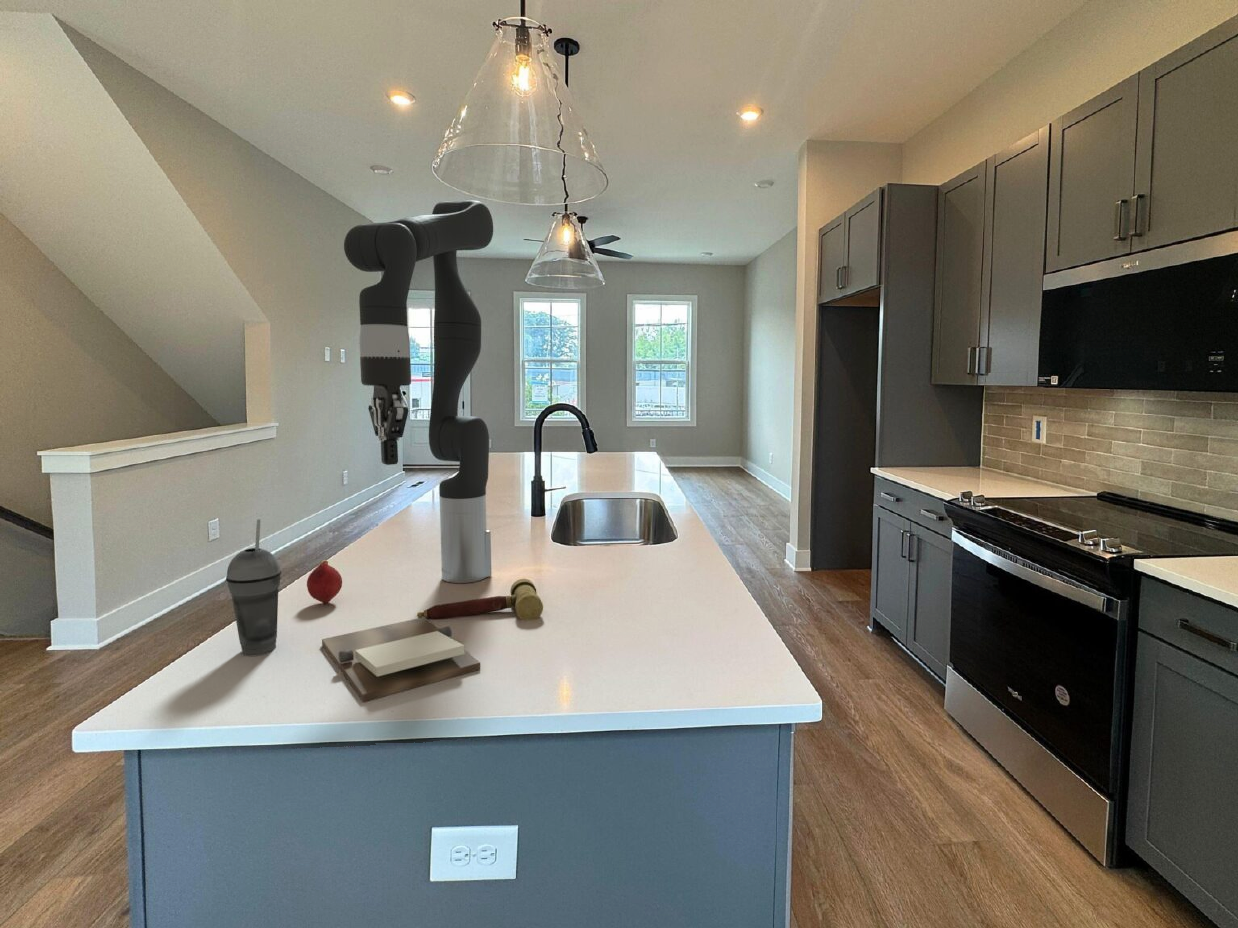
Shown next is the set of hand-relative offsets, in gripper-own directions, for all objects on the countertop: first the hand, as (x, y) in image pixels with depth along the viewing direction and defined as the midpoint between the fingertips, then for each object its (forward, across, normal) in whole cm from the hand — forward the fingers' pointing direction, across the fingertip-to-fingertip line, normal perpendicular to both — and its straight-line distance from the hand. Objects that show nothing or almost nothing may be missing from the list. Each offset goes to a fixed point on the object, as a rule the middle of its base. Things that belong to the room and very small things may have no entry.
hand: (389, 463), depth 105 cm
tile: (+24, -18, +4) cm, 30 cm away
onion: (+27, +18, +7) cm, 33 cm away
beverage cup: (+27, +2, +20) cm, 34 cm away
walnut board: (+27, -13, +4) cm, 30 cm away
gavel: (+28, -3, -13) cm, 31 cm away
